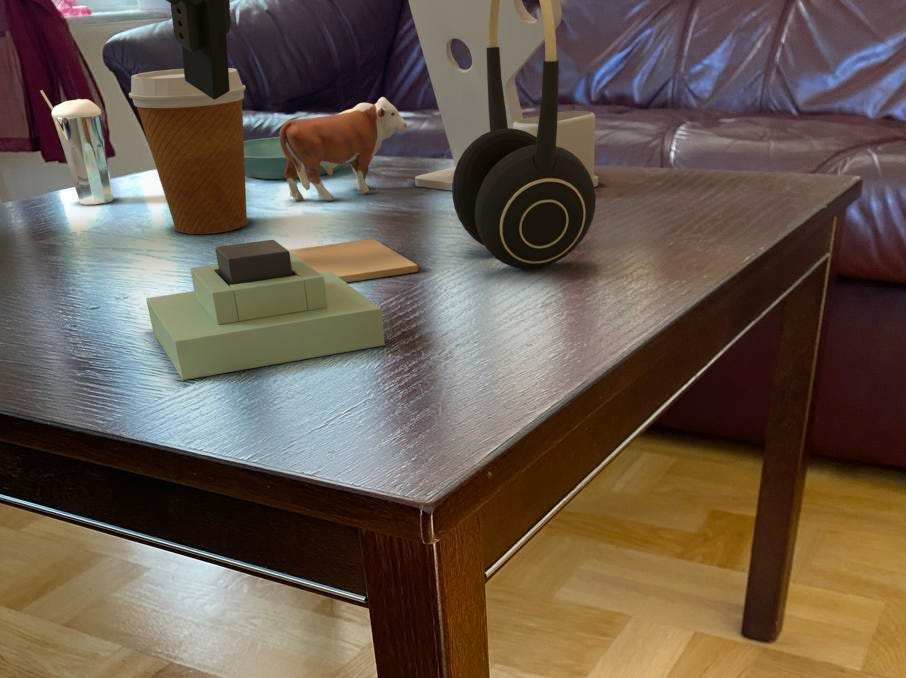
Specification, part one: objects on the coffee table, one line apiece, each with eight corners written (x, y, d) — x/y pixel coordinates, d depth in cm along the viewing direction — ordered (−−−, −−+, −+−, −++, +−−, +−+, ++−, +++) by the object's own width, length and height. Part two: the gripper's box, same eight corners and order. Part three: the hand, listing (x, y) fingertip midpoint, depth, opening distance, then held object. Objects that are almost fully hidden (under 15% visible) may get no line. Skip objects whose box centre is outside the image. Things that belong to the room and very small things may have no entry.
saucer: (248, 189, 105) (244, 161, 104) (208, 170, 116) (203, 144, 115) (378, 172, 111) (376, 145, 109) (328, 155, 122) (325, 131, 120)
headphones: (492, 290, 70) (482, -65, 59) (444, 243, 82) (429, -58, 71) (610, 277, 71) (622, -70, 60) (547, 233, 83) (547, -63, 72)
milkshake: (78, 197, 105) (52, 87, 99) (127, 196, 104) (104, 86, 99) (57, 206, 101) (29, 93, 96) (108, 206, 100) (82, 91, 95)
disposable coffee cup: (166, 244, 85) (133, 81, 79) (149, 223, 93) (118, 73, 86) (277, 229, 88) (254, 72, 82) (252, 210, 96) (229, 64, 89)
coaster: (251, 261, 79) (250, 255, 79) (373, 245, 82) (372, 238, 82) (285, 291, 71) (284, 284, 71) (418, 271, 75) (417, 264, 74)
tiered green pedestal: (153, 333, 64) (139, 268, 62) (334, 304, 68) (327, 242, 66) (182, 380, 57) (167, 308, 55) (385, 345, 61) (379, 276, 58)
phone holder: (606, 184, 100) (613, -35, 90) (543, 202, 94) (543, -31, 84) (473, 169, 110) (466, -30, 100) (408, 185, 104) (393, -26, 94)
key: (219, 277, 61) (214, 246, 60) (278, 268, 63) (273, 238, 62) (233, 290, 59) (228, 259, 58) (293, 282, 60) (289, 251, 59)
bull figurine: (416, 188, 102) (410, 96, 98) (295, 207, 96) (283, 111, 92) (395, 182, 105) (388, 93, 101) (276, 201, 99) (263, 107, 95)
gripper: (125, -309, 46) (179, 155, 66) (317, -368, 52) (312, 73, 72) (6, -377, 47) (95, 98, 68) (207, -427, 53) (232, 23, 74)
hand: (207, 85), depth 70 cm, fingers closed
